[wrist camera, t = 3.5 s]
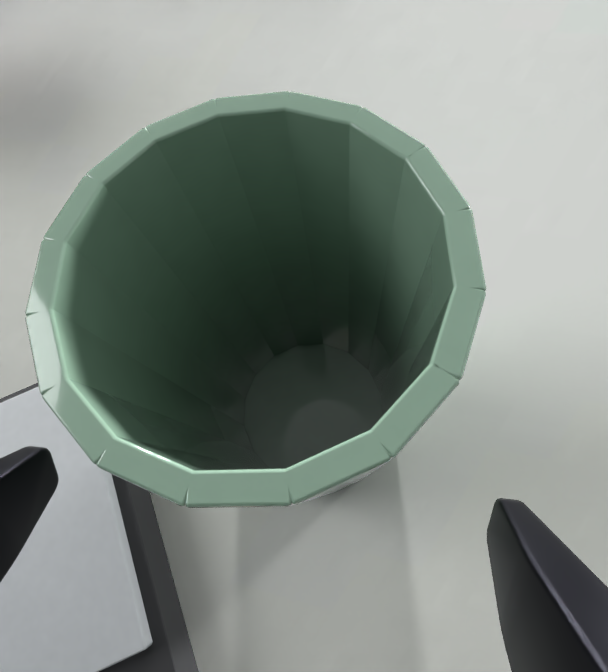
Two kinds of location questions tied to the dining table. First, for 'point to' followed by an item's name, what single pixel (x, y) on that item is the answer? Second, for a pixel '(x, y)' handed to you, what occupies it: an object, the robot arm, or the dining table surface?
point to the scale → (86, 566)
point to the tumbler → (255, 301)
